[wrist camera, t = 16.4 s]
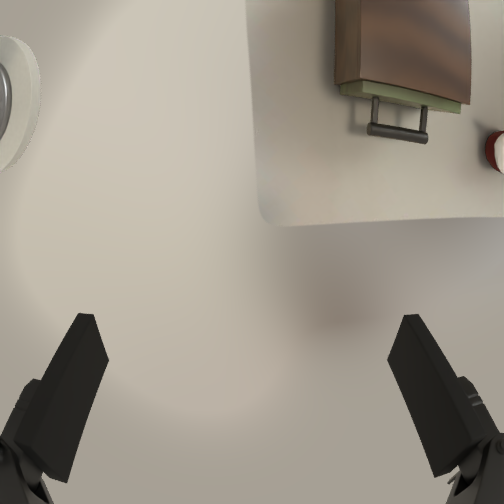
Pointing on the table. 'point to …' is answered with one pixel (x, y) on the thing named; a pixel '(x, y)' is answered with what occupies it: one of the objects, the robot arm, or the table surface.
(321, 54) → the table surface
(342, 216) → the table surface
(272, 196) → the table surface
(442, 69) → the cabinet
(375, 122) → the drawer
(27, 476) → the robot arm
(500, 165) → the cocoa
